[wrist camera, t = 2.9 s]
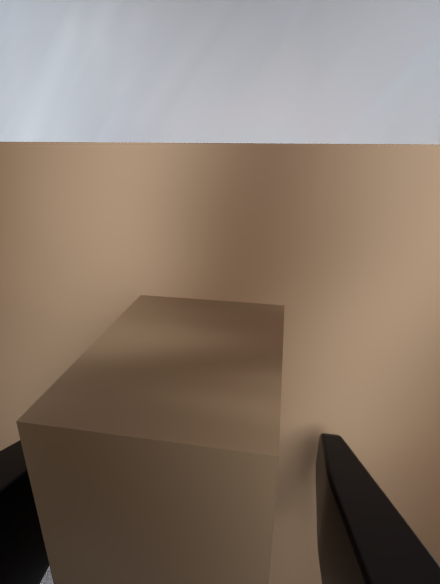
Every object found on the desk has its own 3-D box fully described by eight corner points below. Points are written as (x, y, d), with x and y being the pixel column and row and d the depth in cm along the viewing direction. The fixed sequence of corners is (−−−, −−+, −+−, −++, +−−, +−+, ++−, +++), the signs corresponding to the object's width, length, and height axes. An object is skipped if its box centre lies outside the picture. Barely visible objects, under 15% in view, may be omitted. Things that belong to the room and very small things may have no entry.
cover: (561, 145, 7) (1124, 148, 2) (422, 594, 11) (512, 900, 6) (-50, 141, 8) (-424, 139, 4) (40, 526, 13) (-92, 728, 8)
